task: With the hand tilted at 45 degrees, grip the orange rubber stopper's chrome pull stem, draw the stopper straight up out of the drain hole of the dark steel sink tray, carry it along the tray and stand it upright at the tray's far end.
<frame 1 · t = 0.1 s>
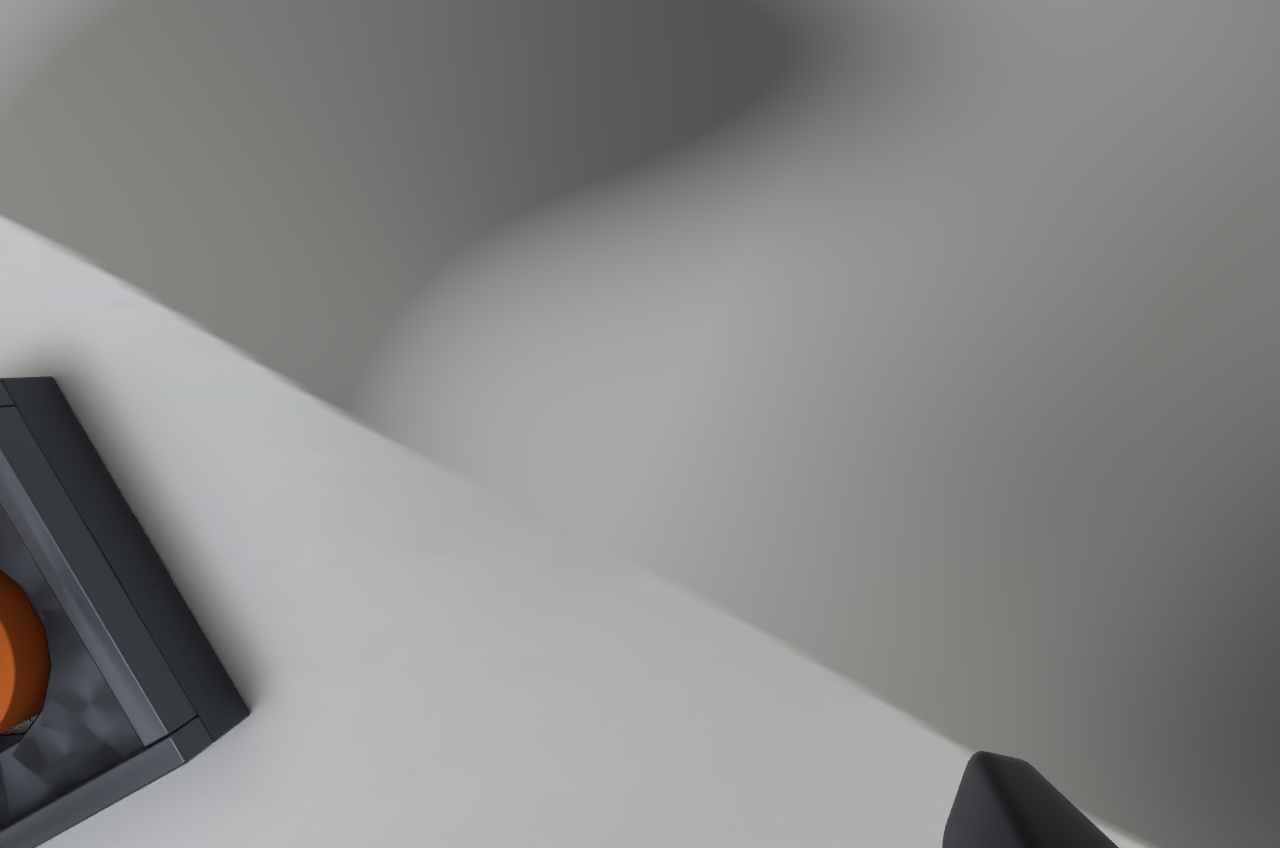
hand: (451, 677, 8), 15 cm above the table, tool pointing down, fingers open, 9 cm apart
plug: (0, 636, 25), resting in sink
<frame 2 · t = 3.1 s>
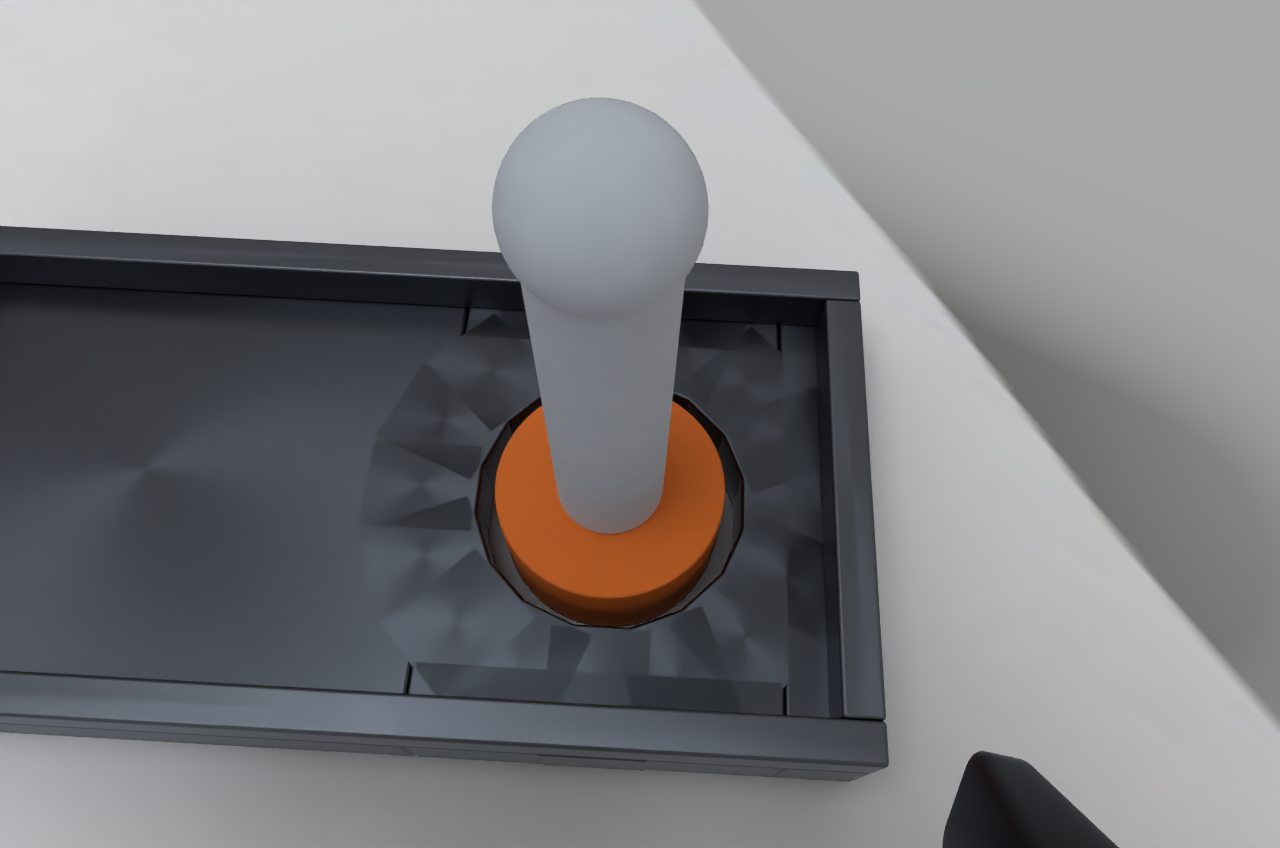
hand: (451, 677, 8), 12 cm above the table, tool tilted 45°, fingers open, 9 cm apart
sink: (374, 510, 21), on the table
sink rim: (346, 469, 19), on the sink, point 2 cm above the table
plug: (611, 523, 21), resting in sink
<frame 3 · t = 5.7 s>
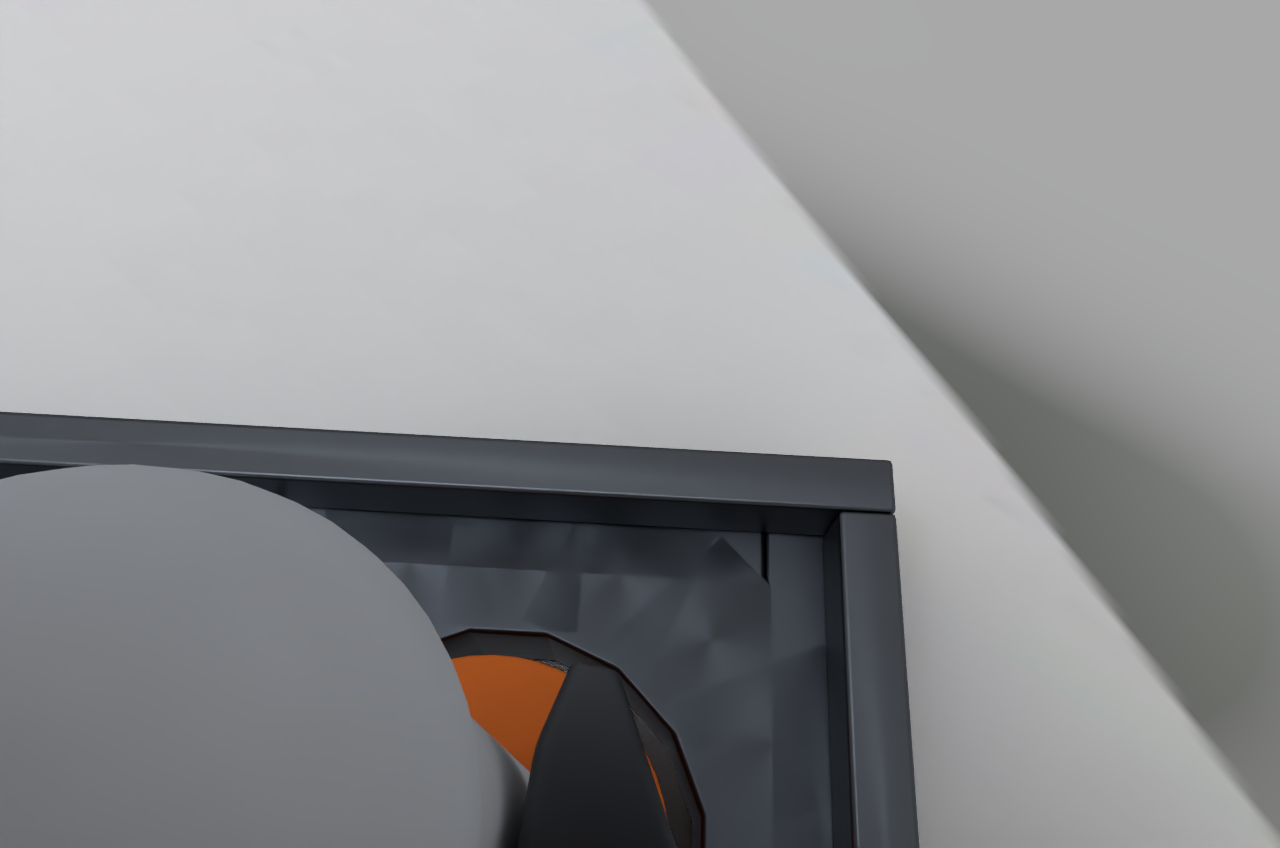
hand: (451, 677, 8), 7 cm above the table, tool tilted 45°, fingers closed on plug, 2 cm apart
sink: (125, 831, 13), on the table
sink rim: (29, 825, 11), on the sink, point 2 cm above the table
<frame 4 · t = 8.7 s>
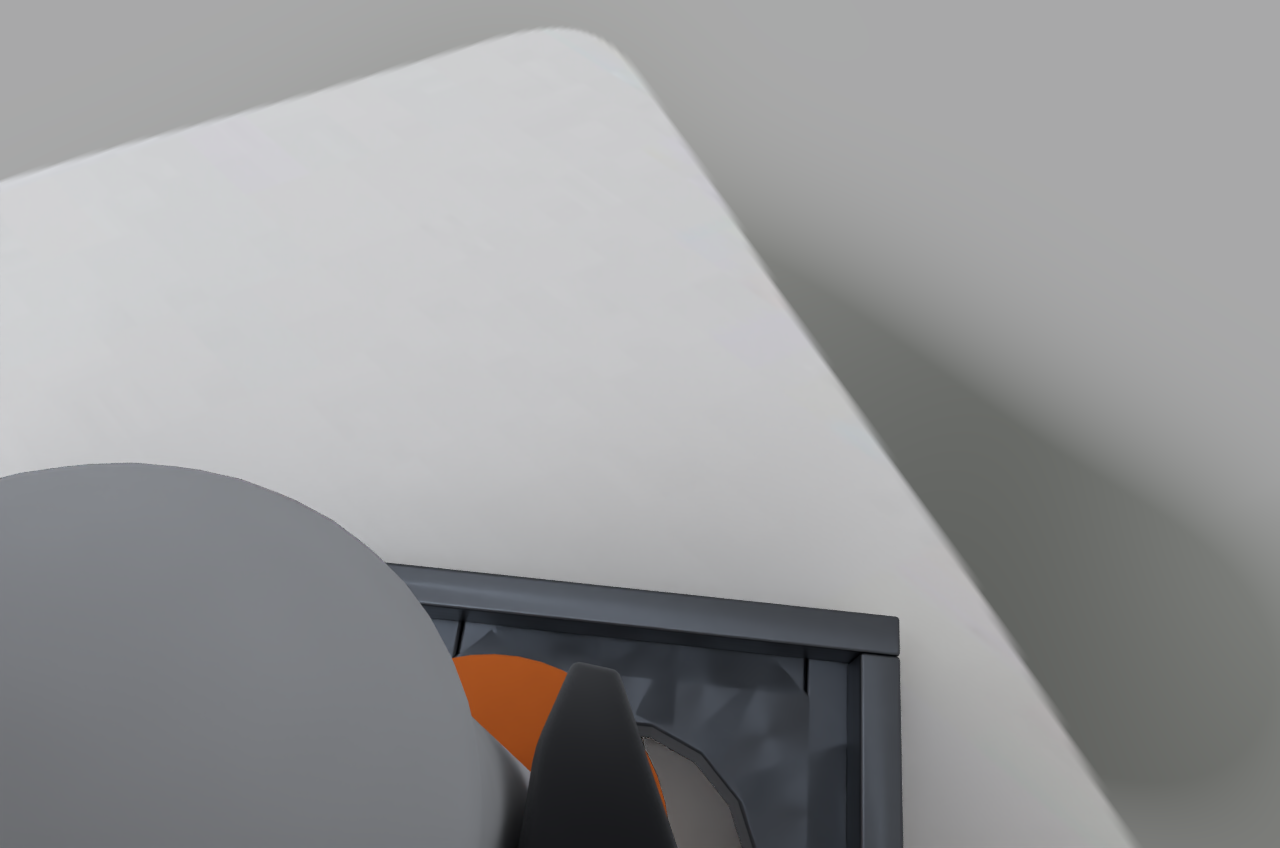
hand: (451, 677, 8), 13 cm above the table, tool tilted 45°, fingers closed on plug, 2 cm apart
sink: (349, 844, 19), on the table
sink rim: (314, 843, 17), on the sink, point 2 cm above the table
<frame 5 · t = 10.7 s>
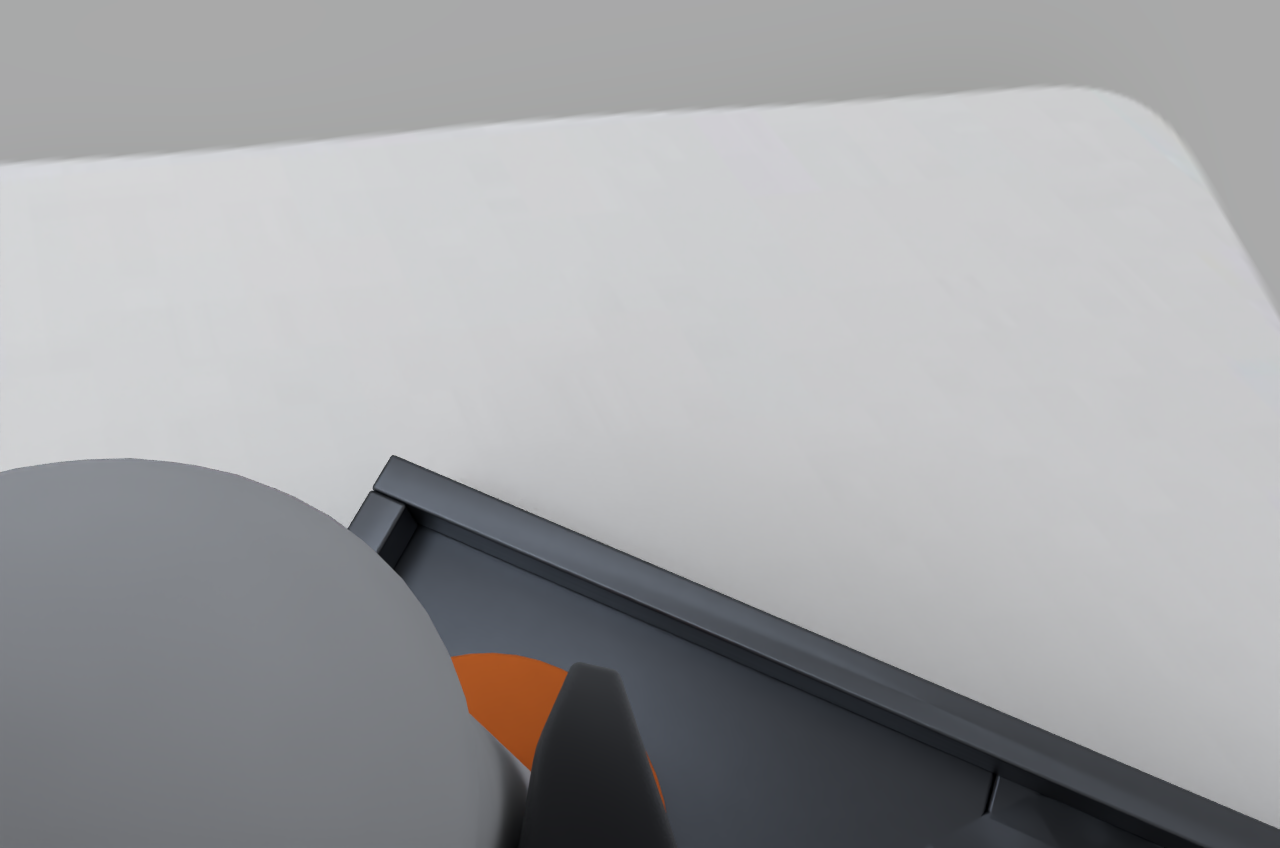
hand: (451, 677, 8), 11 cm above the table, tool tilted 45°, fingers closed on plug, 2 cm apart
when the fingers open (8 cm above the table, at t = 11.8 s): plug stays where it is, resting on sink.
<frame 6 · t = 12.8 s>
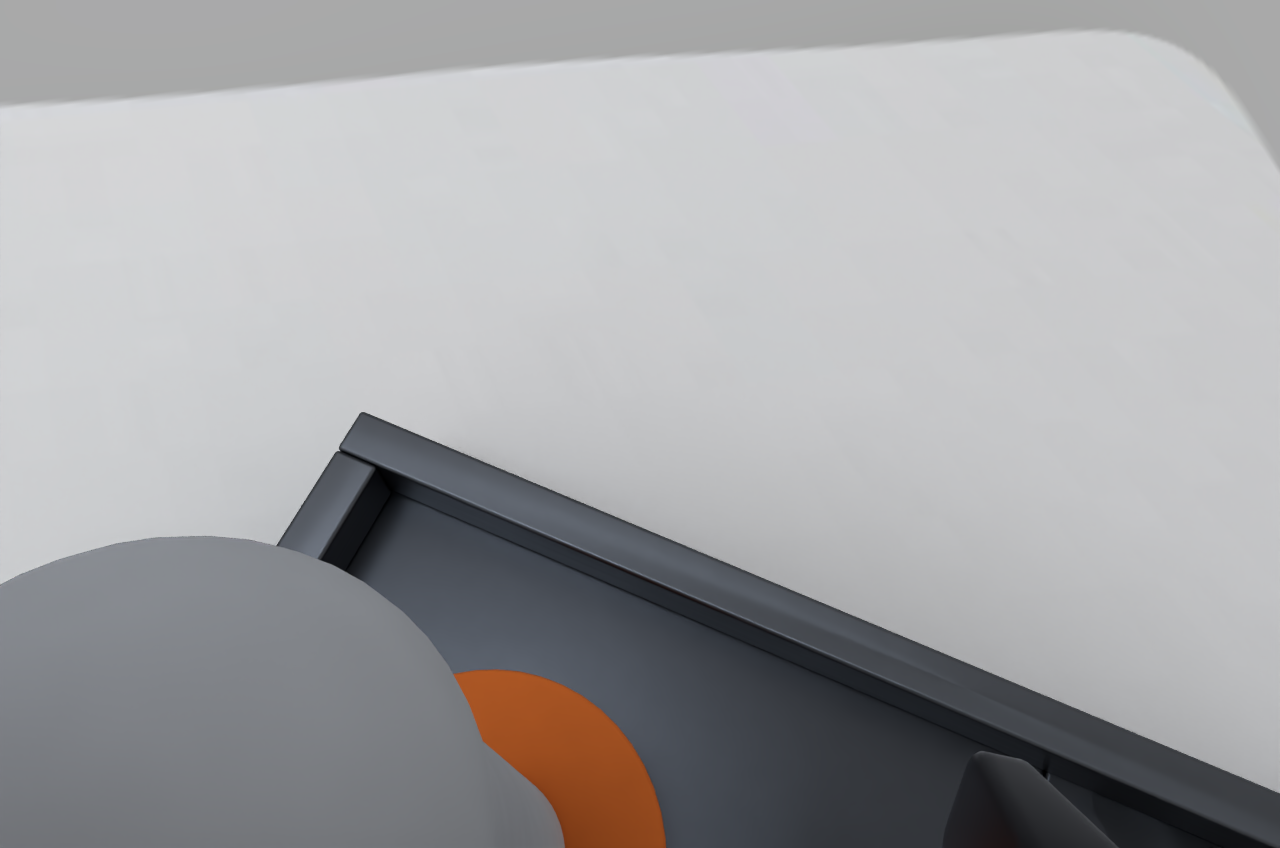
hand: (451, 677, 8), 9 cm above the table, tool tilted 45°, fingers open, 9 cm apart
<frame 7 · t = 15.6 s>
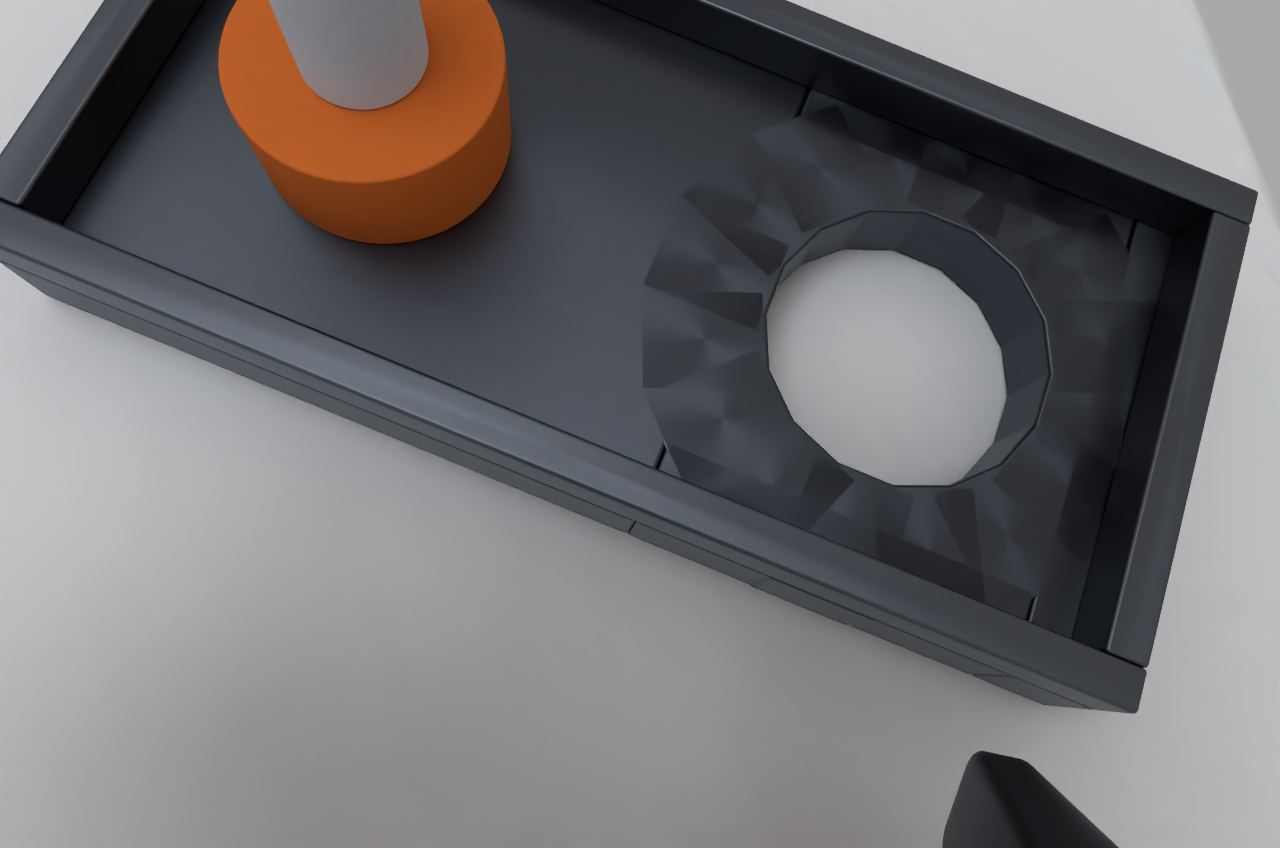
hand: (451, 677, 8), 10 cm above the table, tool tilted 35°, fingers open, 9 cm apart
sink: (640, 273, 20), on the table
sink rim: (652, 222, 17), on the sink, point 2 cm above the table
plug: (388, 132, 18), point 2 cm above the table, touching sink
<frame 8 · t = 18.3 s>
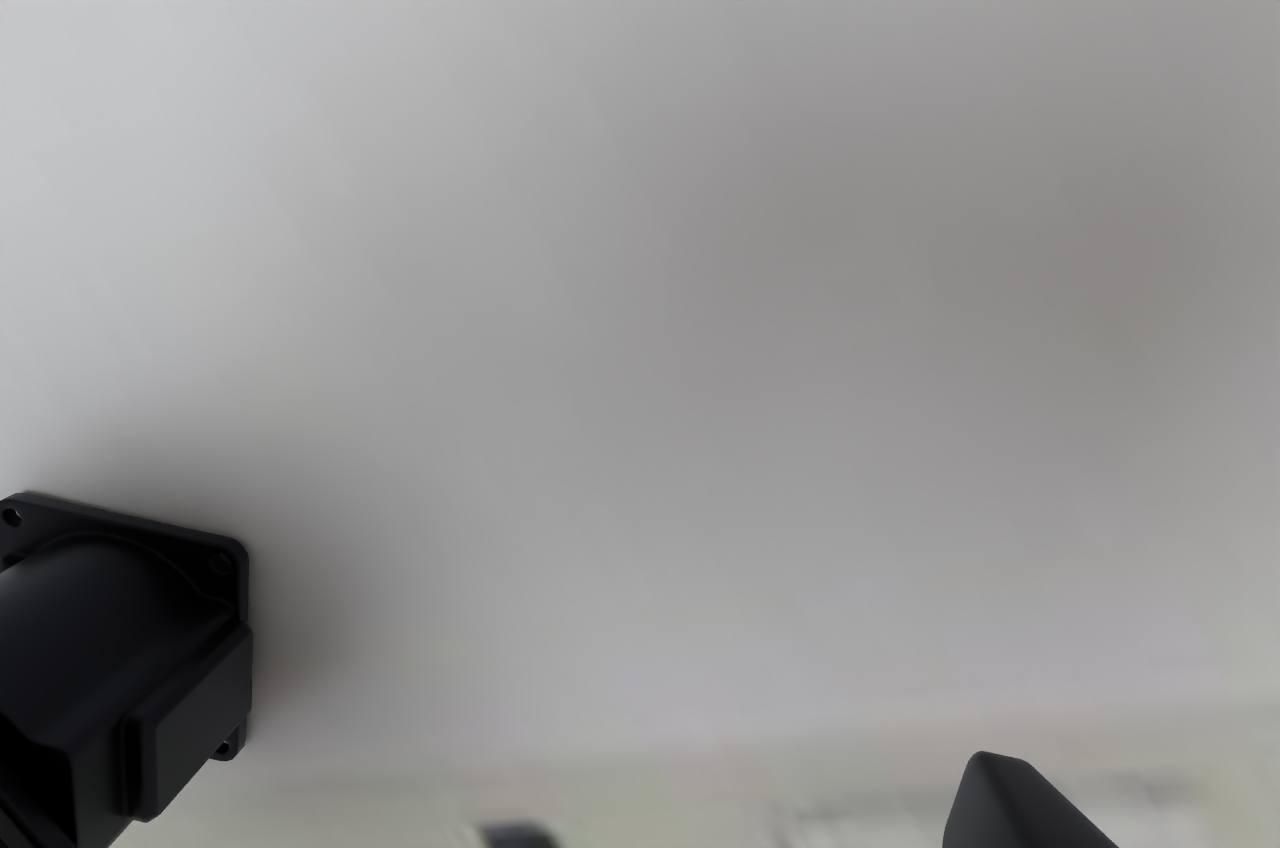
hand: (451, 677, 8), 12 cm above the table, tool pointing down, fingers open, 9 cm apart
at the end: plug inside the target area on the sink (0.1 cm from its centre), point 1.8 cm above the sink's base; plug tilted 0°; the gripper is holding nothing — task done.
